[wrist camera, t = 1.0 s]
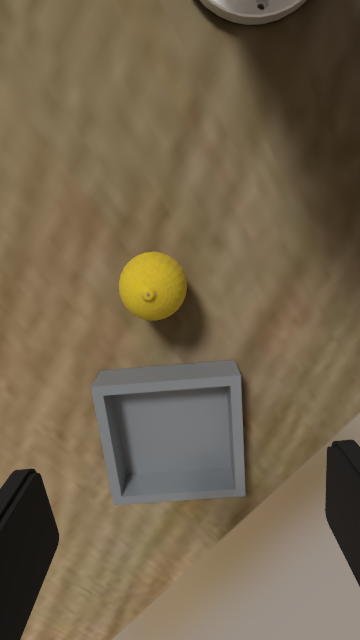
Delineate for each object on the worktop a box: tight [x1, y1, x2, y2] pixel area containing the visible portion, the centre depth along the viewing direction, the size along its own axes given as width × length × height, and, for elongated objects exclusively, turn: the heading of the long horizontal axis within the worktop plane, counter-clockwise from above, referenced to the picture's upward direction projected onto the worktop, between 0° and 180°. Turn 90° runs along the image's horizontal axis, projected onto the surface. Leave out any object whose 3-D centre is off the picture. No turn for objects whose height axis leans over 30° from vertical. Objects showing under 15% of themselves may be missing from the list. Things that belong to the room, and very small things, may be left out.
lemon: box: [119, 252, 187, 321], centre depth 24 cm, size 6×6×8 cm
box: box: [91, 360, 245, 505], centre depth 31 cm, size 14×14×4 cm
